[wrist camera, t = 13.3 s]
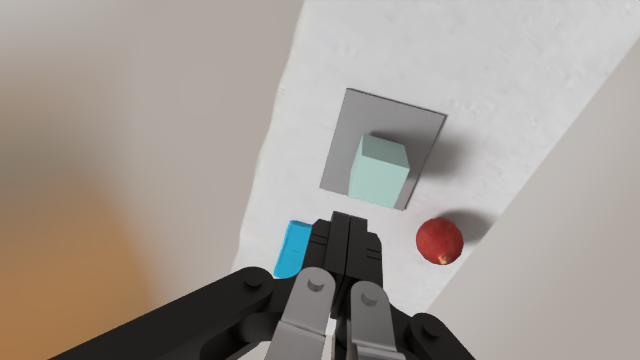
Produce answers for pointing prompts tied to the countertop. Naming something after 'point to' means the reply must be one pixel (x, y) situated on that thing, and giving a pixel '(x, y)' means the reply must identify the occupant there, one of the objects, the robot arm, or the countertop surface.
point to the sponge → (293, 250)
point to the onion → (439, 241)
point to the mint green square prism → (378, 171)
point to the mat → (384, 123)
